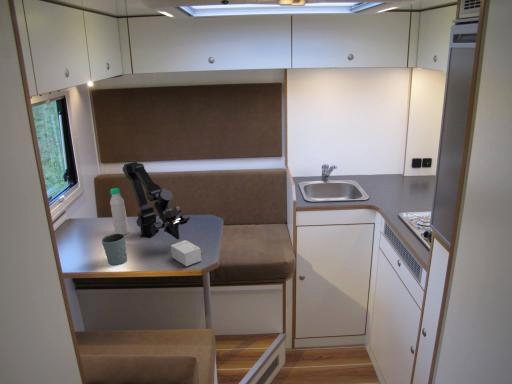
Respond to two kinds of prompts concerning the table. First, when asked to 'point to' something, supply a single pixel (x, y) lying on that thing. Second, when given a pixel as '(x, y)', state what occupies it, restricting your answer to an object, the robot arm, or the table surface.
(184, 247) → the small box
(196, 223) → the table surface
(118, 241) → the green cup
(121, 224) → the water bottle
